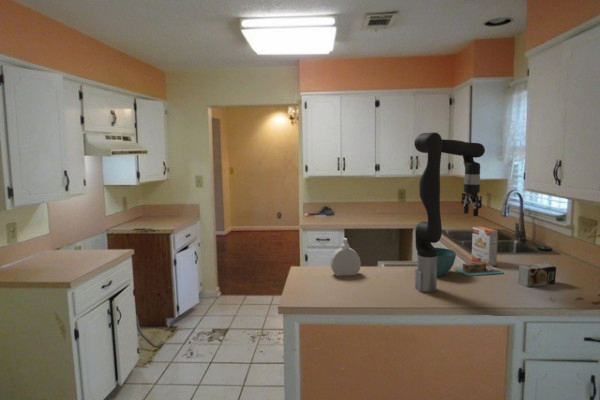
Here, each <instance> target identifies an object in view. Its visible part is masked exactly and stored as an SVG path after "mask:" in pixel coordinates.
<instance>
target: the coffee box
mask: <svg viewBox="0 0 600 400" xmlns="http://www.w3.org/2000/svg"><path fill="white" fill-rule="evenodd" d="M556 274H557V266H554V265H551V264H549V263H539V264H538V263H535V264H526V265H525V264H524V265H519V267H518V281H517V282H518V284H520V285H521V286H525V287H527V288H529V287H539V286H547V285H555V284H556V276H557V275H556Z"/></svg>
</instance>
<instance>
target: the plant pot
mask: <svg viewBox="0 0 600 400" xmlns="http://www.w3.org/2000/svg"><path fill="white" fill-rule="evenodd" d="M435 248H436V249H437V277H439V276H445V275H447V273H449V272H450V271H451V269H452V267H453V266H454V263H455V260H456V256H457V255H456V254H457V252H456V251H455V250H453V249H449V248H444V247H435Z"/></svg>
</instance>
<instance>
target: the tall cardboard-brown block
mask: <svg viewBox="0 0 600 400" xmlns="http://www.w3.org/2000/svg"><path fill="white" fill-rule="evenodd" d="M462 268H463V271H464V272H480V271H487V272H498V270H499V271H500V269H499V268H496V267H494V266H486V264H485V263H478V262H471V263H470V262H469V263H462Z"/></svg>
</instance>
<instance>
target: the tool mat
mask: <svg viewBox="0 0 600 400" xmlns="http://www.w3.org/2000/svg"><path fill="white" fill-rule="evenodd" d="M453 270H454V271H456V272H458V273H459V274H461V275H462V276H464V277H478V276H489V275H490V276H492V275H493V276H494V275H503V274H504V271H501V270H500V269H499V270H498V272H487V271H480V272H464V271H463V267H458V268H453Z"/></svg>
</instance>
